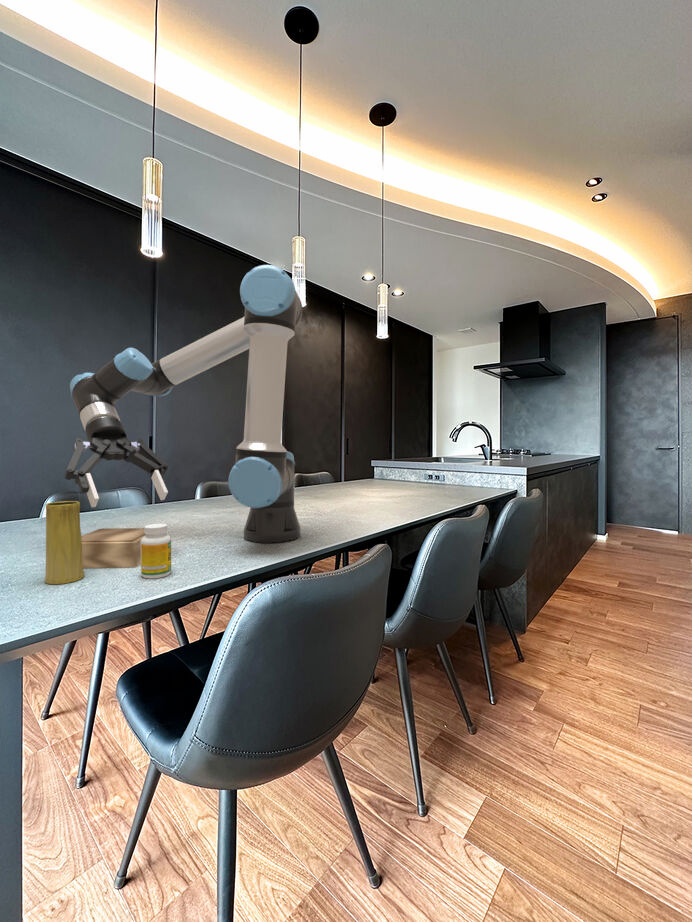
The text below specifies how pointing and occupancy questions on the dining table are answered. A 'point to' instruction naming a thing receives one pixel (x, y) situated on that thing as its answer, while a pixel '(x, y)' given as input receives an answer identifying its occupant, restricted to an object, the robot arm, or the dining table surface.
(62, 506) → the vase
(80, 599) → the dining table surface
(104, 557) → the stand
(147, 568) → the supplement bottle
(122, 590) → the dining table surface
